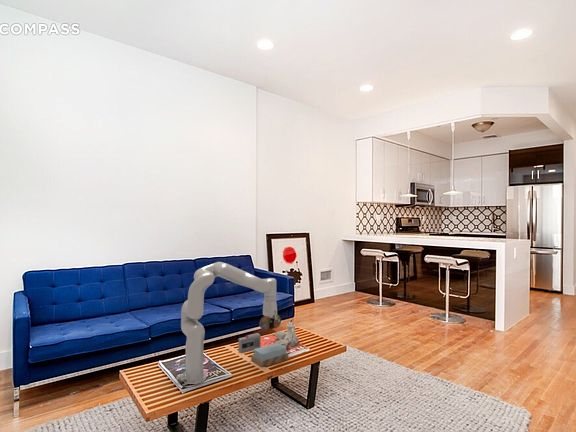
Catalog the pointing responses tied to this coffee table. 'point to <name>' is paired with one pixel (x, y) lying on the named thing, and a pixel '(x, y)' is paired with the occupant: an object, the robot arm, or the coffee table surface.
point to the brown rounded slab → (265, 322)
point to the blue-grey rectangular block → (270, 351)
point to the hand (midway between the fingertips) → (270, 327)
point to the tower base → (269, 360)
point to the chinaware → (287, 336)
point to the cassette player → (249, 343)
